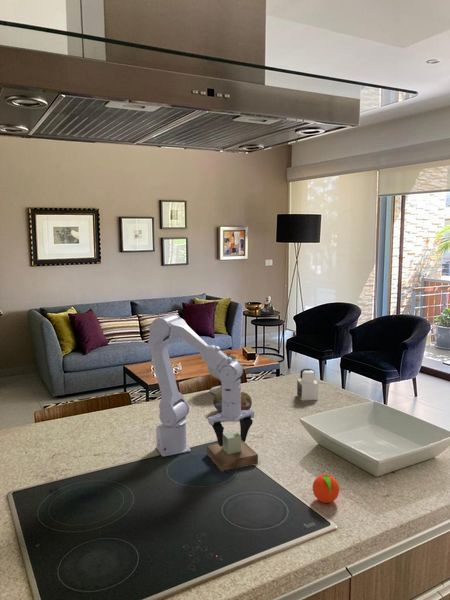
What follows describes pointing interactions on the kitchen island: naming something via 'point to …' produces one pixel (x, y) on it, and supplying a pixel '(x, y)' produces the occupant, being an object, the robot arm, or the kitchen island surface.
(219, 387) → the chalice
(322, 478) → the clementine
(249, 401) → the tin
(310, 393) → the medicine bottle
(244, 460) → the plinth
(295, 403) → the kitchen island surface
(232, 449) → the block
